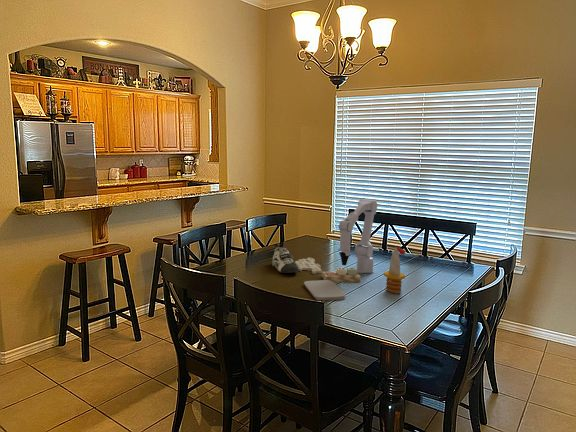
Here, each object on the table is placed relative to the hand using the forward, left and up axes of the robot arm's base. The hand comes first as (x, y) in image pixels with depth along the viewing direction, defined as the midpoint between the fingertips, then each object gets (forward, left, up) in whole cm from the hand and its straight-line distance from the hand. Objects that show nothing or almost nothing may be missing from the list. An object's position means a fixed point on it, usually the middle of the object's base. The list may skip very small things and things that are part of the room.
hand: (344, 265), depth 249 cm
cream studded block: (+2, 0, -5) cm, 6 cm away
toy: (-21, +22, -9) cm, 32 cm away
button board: (+2, 0, -8) cm, 8 cm away
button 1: (-4, 0, -5) cm, 7 cm away
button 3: (+8, 0, -8) cm, 11 cm away
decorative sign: (+17, -25, -9) cm, 32 cm away
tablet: (+15, +21, -9) cm, 28 cm away
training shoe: (+32, -19, -9) cm, 39 cm away
